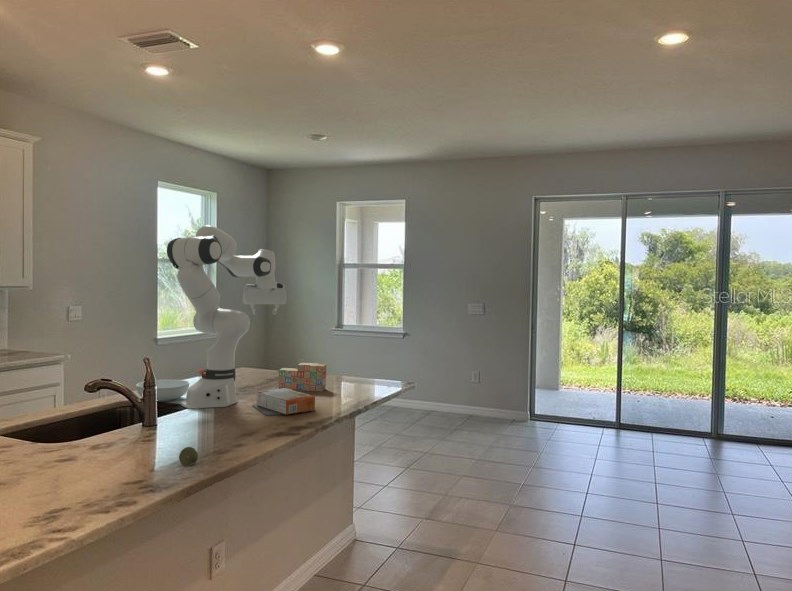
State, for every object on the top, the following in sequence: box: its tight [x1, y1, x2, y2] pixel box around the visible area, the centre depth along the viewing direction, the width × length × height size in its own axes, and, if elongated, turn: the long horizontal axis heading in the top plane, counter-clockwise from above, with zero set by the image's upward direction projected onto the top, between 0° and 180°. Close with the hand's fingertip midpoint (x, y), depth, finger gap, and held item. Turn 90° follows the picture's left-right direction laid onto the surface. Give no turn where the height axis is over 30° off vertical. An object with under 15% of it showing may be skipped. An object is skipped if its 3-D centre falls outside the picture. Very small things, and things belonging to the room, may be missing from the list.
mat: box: [252, 404, 316, 417], centre depth 237 cm, size 20×18×1 cm
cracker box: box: [255, 388, 316, 415], centre depth 236 cm, size 14×6×21 cm
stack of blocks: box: [278, 362, 327, 393], centre depth 277 cm, size 21×6×12 cm, turn 81°
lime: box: [178, 446, 199, 467], centre depth 166 cm, size 4×5×5 cm
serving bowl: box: [135, 378, 190, 403], centre depth 247 cm, size 21×21×7 cm
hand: (264, 314), depth 273 cm, fingers open, 8 cm apart
